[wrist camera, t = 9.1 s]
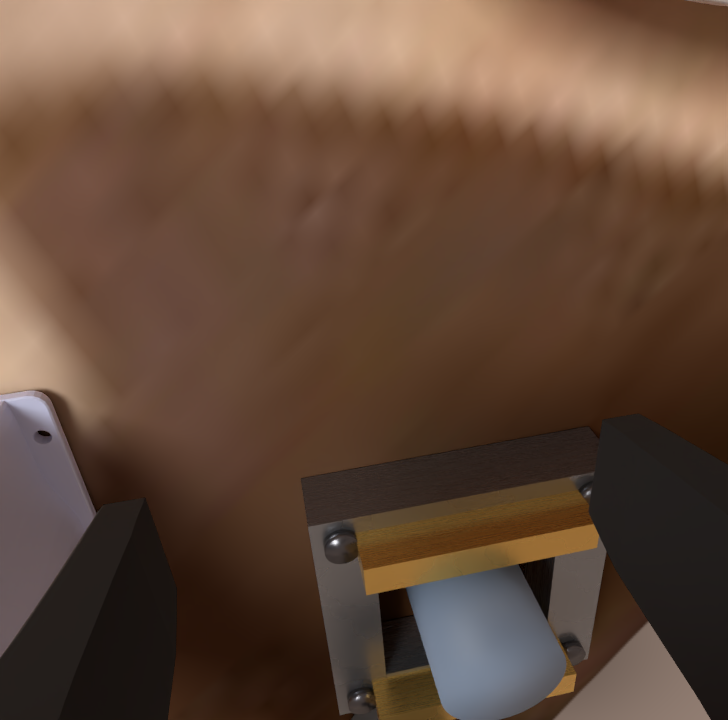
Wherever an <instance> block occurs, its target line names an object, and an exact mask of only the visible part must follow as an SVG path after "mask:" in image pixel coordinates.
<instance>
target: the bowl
mask: <svg viewBox="0 0 728 720" xmlns="http://www.w3.org/2000/svg"><path fill="white" fill-rule="evenodd" d="M686 1H692V2H698V3H704V4H711V5H718V6H728V0H686Z"/></svg>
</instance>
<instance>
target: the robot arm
mask: <svg viewBox="0 0 728 720" xmlns="http://www.w3.org/2000/svg"><path fill="white" fill-rule="evenodd" d="M39 430H44V431H47V432H49V433H50V434H51V436H42V435H40V434H39V433H38V432H37V431H39ZM588 512H589V515H590V517H591V519H592V521H593V523H594V526H595V528H596V530H597V532H598V534H599V537H600V539H601V541H602V543H603V545H604V547H605V549H606V551H607V553H608V555H609V557H610V559H611V561H612V563H613V565H614V567H615V569H616V571H617V572H618V574H619V576H620V577H621V579H622V580H623V582H624V584H625V585H626V587H627V588H628V590H629V591H630V593H631V595H632V596H633V598H634V599H635V601H636V603H637V604H638V606H639V607H640V609H641V610H642V612H643V614H644V615H645V617H646V618H647V620H648V621H649V623H650V624H651V626H652V627H653V629H654V630H655V632H656V633H657V635H658V636H659V638H660V640H661V641H662V643H663V644H664V646H665V648H666V649H667V651H668V652H669V654H670V655H671V657H672V658H673V660H674V661H675V663H676V665H677V666H678V668H679V669H680V671H681V672H682V674H683V675H684V677H685V678H686V680H687V682H688V683H689V685H690V686H691V688H692V689H693V691H694V692H695V694H696V695H697V697H698V699H699V700H700V702H701V704H702V705H703V707H704V709H705V710H706V712H707V714H708V715H709V717H710V719H711V720H728V465H727V464H726V463H724V462H722V461H720V460H719V459H717V458H715V457H714V456H712V455H710V454H709V453H707V452H705V451H703V450H702V449H700V448H698V447H697V446H695V445H693V444H691V443H690V442H688V441H686V440H685V439H683V438H681V437H680V436H678V435H676V434H674V433H673V432H671V431H669V430H667V429H666V428H664V427H662V426H660V425H659V424H657V423H655V422H653V421H651V420H650V419H648V418H646V417H644V416H642V415H640V414H633V415H627V416H622V417H616V418H610V419H604V420H602V427H601V433H600V440H599V446H598V453H597V459H596V465H595V472H594V478H593V485H592V491H591V497H590V504H589V510H588ZM176 626H177V588H176V585H175V582H174V579H173V576H172V573H171V570H170V567H169V565H168V562H167V559H166V556H165V553H164V550H163V547H162V544H161V541H160V539H159V536H158V533H157V530H156V527H155V524H154V521H153V518H152V516H151V513H150V510H149V507H148V504H147V501H146V498H140V499H134V500H128V501H122V502H117V503H111V504H105V505H103V506H102V507H101V508H100V510H99V511H98V512H97V514H96V511H95V509H94V506H93V504H92V501H91V499H90V496H89V494H88V491H87V489H86V486H85V484H84V481H83V479H82V476H81V474H80V471H79V469H78V466H77V464H76V461H75V459H74V456H73V454H72V451H71V449H70V446H69V444H68V442H67V439H66V437H65V434H64V432H63V429H62V427H61V424H60V422H59V419H58V417H57V414H56V412H55V409H54V407H53V404H52V402H51V400H50V399H49V397H48V396H46V395H45V394H44V393H42V392H38V391H23V392H17V393H10V394H4V395H0V720H168V713H169V705H170V697H171V689H172V682H173V674H174V666H175V657H176Z"/></svg>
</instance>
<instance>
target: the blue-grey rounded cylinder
mask: <svg viewBox="0 0 728 720" xmlns="http://www.w3.org/2000/svg"><path fill="white" fill-rule="evenodd" d="M406 590H407V593H408V597H409V600H410V603H411V606H412V610H413V613H414V616H415V619H416V623H417V626H418V629H419V632H420V636H421V639H422V642H423V645H424V649H425V652H426V655H427V659H428V662H429V665H430V668H431V672H432V675H433V678H434V681H435V685H436V688H437V691H438V694H439V698H440V701H441V704H442V706H443V708H444V709H445V711H446V712H447V713H449V714H450V715H451V716H453V717H455V718H457V719H460V720H500V719H504V718H507V717H511V716H513V715H516V714H519V713H521V712H523V711H525V710H527V709H529V708H531V707H533V706H534V705H536V704H538V703H539V702H541V701H542V700H543V699H545V698H546V697H547V696H548V695H549V694H550V693H551V692H552V691H553V690H554V689H555V688H556V687H557V686H558V684H559V683H560V682H561V680H562V678H563V676H564V673H565V670H566V658H565V655H564V653H563V651H562V649H561V647H560V645H559V643H558V641H557V639H556V637H555V635H554V634H553V632H552V630H551V628H550V626H549V624H548V622H547V620H546V618H545V616H544V614H543V612H542V610H541V608H540V606H539V604H538V602H537V600H536V598H535V596H534V594H533V592H532V590H531V588H530V587H529V585H528V583H527V581H526V579H525V577H524V575H523V573H522V571H521V569H520V567H519V565H518V564H516V565H511V566H507V567H502V568H497V569H492V570H487V571H482V572H478V573H473V574H468V575H463V576H458V577H453V578H448V579H444V580H439V581H434V582H429V583H424V584H419V585H415V586H410V587H406Z"/></svg>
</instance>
